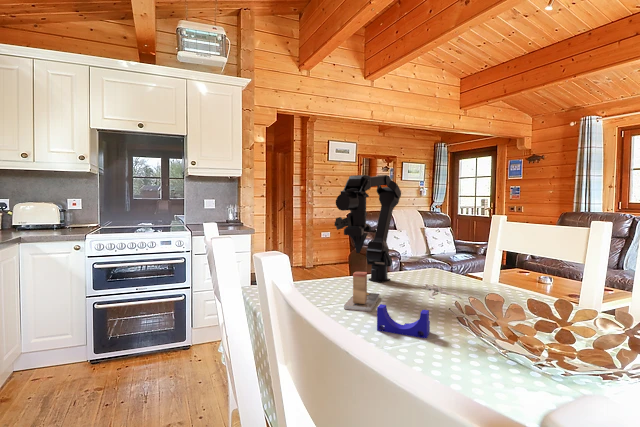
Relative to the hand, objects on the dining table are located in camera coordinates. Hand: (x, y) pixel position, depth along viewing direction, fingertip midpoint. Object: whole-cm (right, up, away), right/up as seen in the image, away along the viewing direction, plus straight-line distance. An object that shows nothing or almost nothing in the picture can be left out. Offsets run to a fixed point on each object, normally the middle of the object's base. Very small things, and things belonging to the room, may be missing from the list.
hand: (358, 252), depth 132 cm
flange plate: (0, -14, -18) cm, 23 cm away
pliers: (+27, -14, -6) cm, 31 cm away
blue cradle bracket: (+7, -15, -42) cm, 45 cm away
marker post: (-2, -12, -22) cm, 25 cm away
